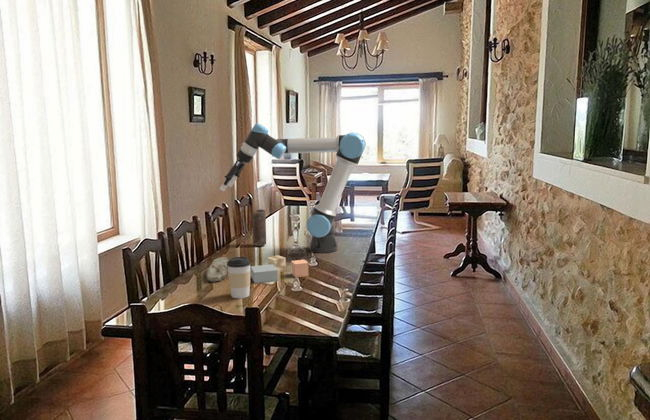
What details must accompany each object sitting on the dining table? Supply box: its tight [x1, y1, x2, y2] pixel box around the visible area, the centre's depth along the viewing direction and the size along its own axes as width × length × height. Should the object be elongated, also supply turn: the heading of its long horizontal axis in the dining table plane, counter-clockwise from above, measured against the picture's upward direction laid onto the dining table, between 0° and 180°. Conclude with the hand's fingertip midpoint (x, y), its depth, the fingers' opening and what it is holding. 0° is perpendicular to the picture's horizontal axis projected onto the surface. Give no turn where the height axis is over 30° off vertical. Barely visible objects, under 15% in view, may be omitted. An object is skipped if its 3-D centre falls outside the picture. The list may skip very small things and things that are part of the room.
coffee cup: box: [227, 256, 252, 299], centre depth 189 cm, size 9×9×15 cm
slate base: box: [250, 264, 279, 284], centre depth 210 cm, size 10×10×5 cm
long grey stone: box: [205, 256, 230, 282], centre depth 223 cm, size 35×5×10 cm
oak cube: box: [266, 255, 287, 273], centre depth 223 cm, size 6×6×6 cm
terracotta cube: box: [290, 259, 310, 278], centre depth 215 cm, size 6×6×6 cm
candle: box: [252, 209, 267, 247], centre depth 270 cm, size 8×7×20 cm
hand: (225, 188), depth 247 cm, fingers open, 13 cm apart
